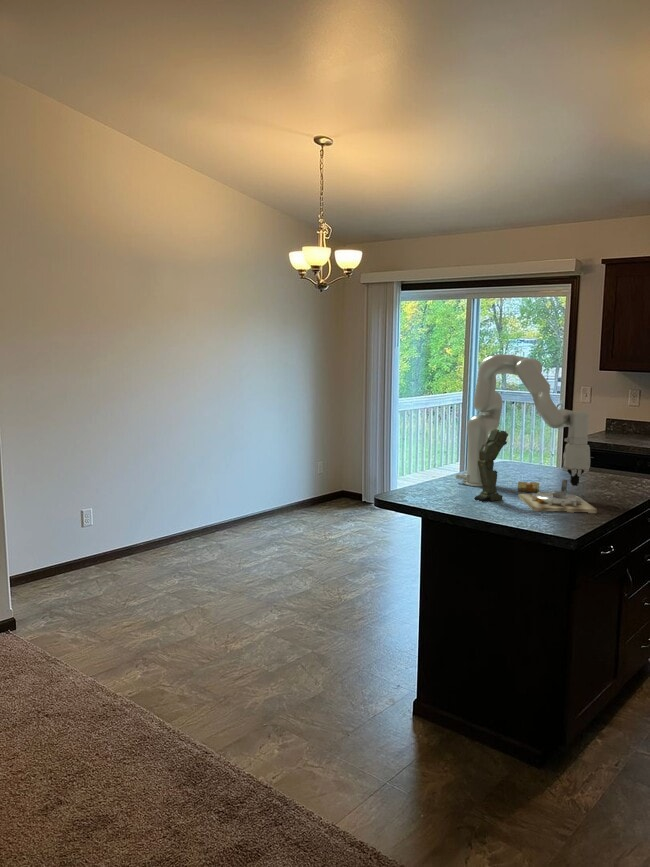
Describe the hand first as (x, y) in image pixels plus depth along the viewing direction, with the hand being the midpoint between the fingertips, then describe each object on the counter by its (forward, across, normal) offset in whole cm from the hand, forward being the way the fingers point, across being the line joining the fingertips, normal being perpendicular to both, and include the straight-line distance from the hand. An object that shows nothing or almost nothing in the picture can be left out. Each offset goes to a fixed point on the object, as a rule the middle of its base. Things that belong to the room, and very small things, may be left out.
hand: (574, 485), depth 281 cm
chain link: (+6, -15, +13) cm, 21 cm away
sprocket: (+4, -10, -10) cm, 15 cm away
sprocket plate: (+6, -10, -11) cm, 16 cm away
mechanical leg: (+6, -35, -5) cm, 36 cm away
